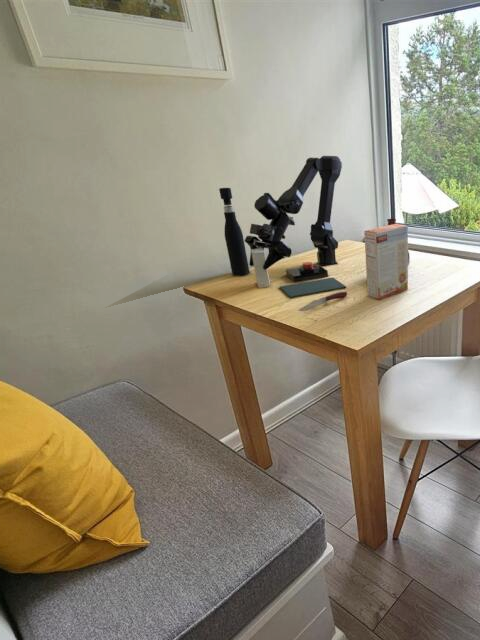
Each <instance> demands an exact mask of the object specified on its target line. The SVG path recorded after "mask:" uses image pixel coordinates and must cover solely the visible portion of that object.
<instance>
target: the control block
mask: <svg viewBox="0 0 480 640" xmlns="http://www.w3.org/2000/svg"><path fill="white" fill-rule="evenodd" d="M285 275H286V277H288V278H289V279H290V280H291V281H293V283H300V282H306V281H312V280H318V279H324V278H329V271H328V270H327V269H326V268H324V267H323V266H322V265H321V264H313V268H310V269H305V268H303V264H302V265H300V266H299V267H293V268H287V269H285Z"/></svg>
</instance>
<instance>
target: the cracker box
mask: <svg viewBox="0 0 480 640" xmlns="http://www.w3.org/2000/svg"><path fill="white" fill-rule="evenodd" d="M364 249H365V250H364V251H365V253H364V254H365V270H366V271H365V272H366V288H367V290H366V291H367V296H368V297H370V298H373V299H376V300H381V299H384V298H387V297H390V296H393V295H396V294H398V293H400V292H403V291H406V290H408V289H409V265H408V251H409V226H408V225H405V224H401V223H395V224H393V225H388V224H387V225H384V226H379V227H375V228H371V229H366V230H364Z"/></svg>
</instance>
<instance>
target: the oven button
mask: <svg viewBox="0 0 480 640" xmlns="http://www.w3.org/2000/svg"><path fill="white" fill-rule="evenodd" d="M302 265H303V268H305V269H310V268H313V265H314V263H313V262H312V261H304V262H303V263H302Z"/></svg>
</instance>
